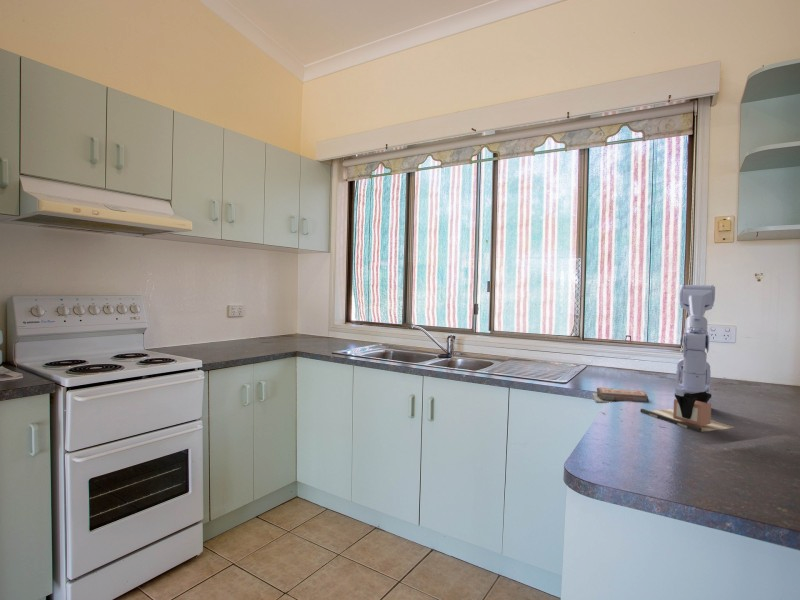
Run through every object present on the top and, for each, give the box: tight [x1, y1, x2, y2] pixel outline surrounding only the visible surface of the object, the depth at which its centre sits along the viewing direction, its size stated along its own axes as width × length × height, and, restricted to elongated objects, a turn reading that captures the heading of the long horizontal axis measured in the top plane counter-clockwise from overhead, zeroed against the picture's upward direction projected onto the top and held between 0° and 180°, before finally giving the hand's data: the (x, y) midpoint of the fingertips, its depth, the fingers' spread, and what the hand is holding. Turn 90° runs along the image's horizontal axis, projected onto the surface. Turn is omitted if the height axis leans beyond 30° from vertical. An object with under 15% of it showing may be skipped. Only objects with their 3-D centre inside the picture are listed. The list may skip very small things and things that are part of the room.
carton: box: [673, 398, 712, 426], centre depth 133 cm, size 5×8×6 cm, turn 26°
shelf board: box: [640, 408, 736, 433], centre depth 137 cm, size 15×20×2 cm
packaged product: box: [592, 387, 650, 404], centre depth 163 cm, size 18×5×10 cm
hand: (692, 416), depth 133 cm, fingers closed on carton, 5 cm apart
